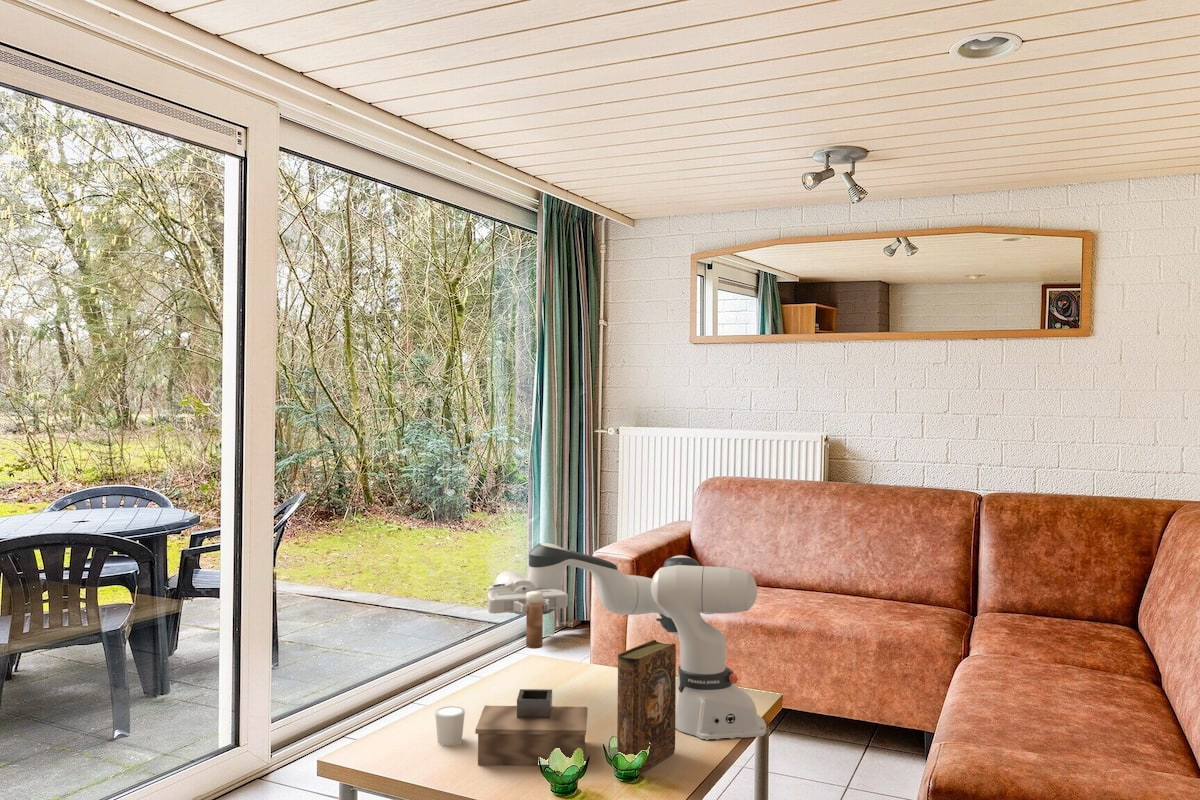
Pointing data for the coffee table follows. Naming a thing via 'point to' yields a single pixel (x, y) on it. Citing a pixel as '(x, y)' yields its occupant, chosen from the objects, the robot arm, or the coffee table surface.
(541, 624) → the white tipped wooden peg
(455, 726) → the white cup
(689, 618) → the robot arm
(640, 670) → the book
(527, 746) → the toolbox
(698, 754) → the coffee table surface
